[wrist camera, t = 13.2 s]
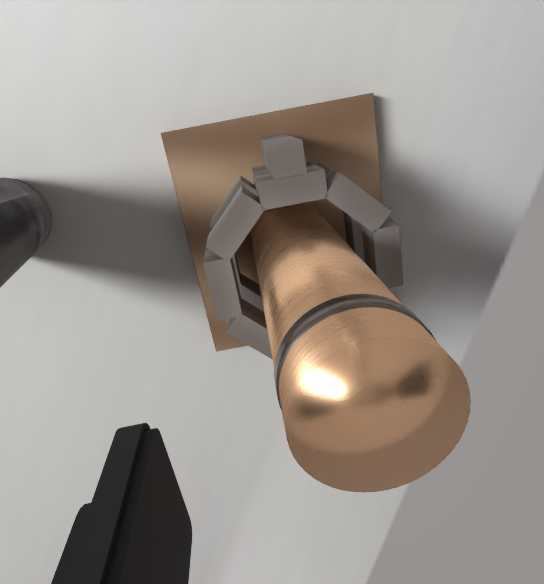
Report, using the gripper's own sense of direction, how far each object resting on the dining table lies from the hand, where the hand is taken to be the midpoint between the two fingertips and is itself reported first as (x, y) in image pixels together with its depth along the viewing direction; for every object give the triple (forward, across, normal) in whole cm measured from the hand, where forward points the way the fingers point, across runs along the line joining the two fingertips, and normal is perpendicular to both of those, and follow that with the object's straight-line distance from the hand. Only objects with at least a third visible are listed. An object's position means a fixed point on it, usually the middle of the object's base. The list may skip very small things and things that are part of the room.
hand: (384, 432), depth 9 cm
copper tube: (+19, 0, +1) cm, 19 cm away
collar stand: (+20, 0, +1) cm, 20 cm away
